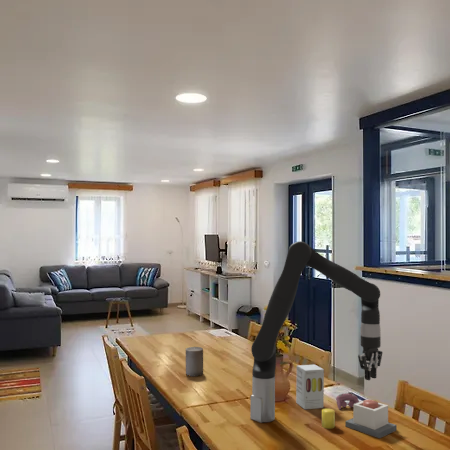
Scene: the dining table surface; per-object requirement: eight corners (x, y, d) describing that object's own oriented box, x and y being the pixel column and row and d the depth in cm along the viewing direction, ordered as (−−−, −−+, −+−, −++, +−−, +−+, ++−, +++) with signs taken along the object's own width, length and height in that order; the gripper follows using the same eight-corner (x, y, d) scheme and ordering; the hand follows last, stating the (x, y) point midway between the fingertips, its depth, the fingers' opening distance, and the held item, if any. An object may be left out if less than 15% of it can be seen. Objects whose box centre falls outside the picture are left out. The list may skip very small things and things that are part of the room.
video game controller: (358, 410, 211) (356, 394, 214) (361, 409, 207) (359, 392, 210) (336, 410, 210) (334, 394, 214) (338, 409, 206) (336, 392, 210)
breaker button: (373, 416, 183) (373, 405, 183) (360, 412, 187) (360, 402, 188) (381, 413, 187) (381, 402, 187) (368, 409, 191) (368, 399, 191)
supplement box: (304, 409, 207) (304, 370, 207) (295, 402, 216) (295, 365, 216) (324, 407, 209) (324, 369, 210) (315, 401, 218) (315, 363, 219)
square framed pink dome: (379, 438, 177) (379, 413, 178) (345, 426, 189) (345, 403, 189) (396, 430, 185) (396, 406, 185) (362, 419, 197) (362, 396, 197)
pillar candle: (204, 371, 265) (204, 344, 266) (201, 376, 255) (201, 348, 256) (187, 371, 266) (187, 344, 267) (183, 376, 256) (183, 348, 257)
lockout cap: (329, 429, 185) (329, 414, 186) (319, 425, 189) (319, 410, 189) (337, 426, 189) (337, 411, 189) (327, 422, 192) (327, 407, 193)
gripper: (368, 338, 181) (368, 384, 180) (388, 333, 190) (389, 377, 189) (351, 335, 186) (351, 380, 186) (372, 331, 196) (372, 373, 195)
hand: (370, 378), depth 188 cm, fingers open, 3 cm apart
